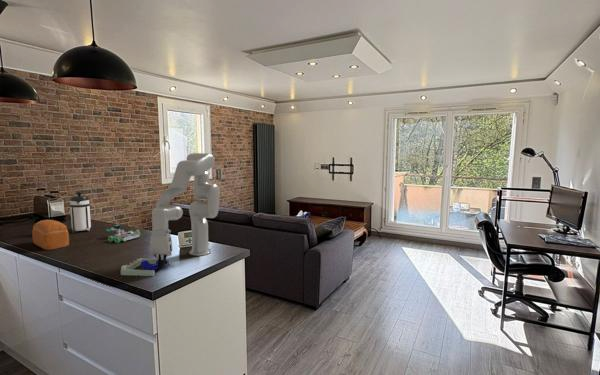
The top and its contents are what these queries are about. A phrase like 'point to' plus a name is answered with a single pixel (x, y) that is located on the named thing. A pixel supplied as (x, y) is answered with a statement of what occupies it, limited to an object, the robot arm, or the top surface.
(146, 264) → the cable clip
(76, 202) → the coffee press
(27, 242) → the top surface
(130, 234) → the robot kit
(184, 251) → the top surface
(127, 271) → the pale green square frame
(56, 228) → the bread
